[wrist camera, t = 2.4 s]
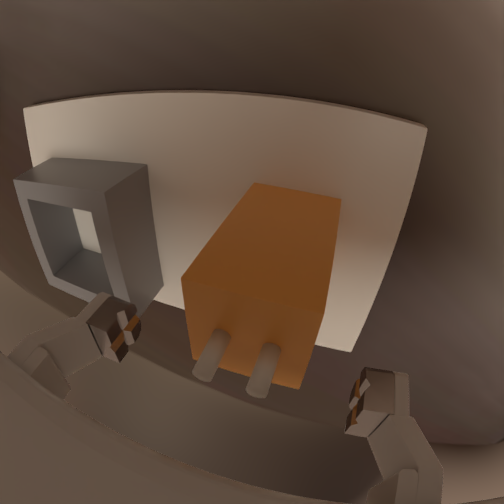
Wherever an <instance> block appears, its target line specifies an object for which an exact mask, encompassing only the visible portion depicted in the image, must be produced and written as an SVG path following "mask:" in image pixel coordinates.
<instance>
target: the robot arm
mask: <svg viewBox="0 0 504 504" xmlns="http://www.w3.org/2000/svg"><path fill="white" fill-rule="evenodd" d="M136 313H137V308H136V305H135V304H132V303H130V302H127V301H125V300H122V299H120V298H117V297H115V296H112V295H110V294H107V293H105V292H101V293H99V294H98V295H97V296H96V297H95V298H94V299H93V300H92V301H91V302H90V303H89V304H88V305H87V306H86V307H85V308H84V309H83V310H82V312H81V313H80V314H79V315H78V316H77V317H76V318H74V317H72V318H69V319H66V320H64V321H61V322H59V323H57V324H54V325H51V326H49V327H46V328H44V329H41V330H39V331H36V332H34V333H31V334H29V335H26V336H25V337H24V338H23V339H22V340H21V342H20V343H19V344H18V345H17V346H16V347H15V348H14V349H13V351H12V352H11V353H10V354H9V355H8V356H7V357H6V356H5V355H4V354H3V353H2V352H1V351H0V504H349V503H339V502H331V501H324V500H317V499H311V498H305V497H299V496H294V495H290V494H284V493H280V492H276V491H272V490H267V489H263V488H259V487H256V486H252V485H248V484H245V483H241V482H237V481H234V480H231V479H228V478H225V477H222V476H218V475H215V474H213V473H210V472H207V471H204V470H201V469H198V468H196V467H193V466H190V465H188V464H185V463H183V462H180V461H178V460H175V459H173V458H171V457H168V456H166V455H164V454H161V453H159V452H157V451H155V450H152V449H150V448H148V447H146V446H144V445H142V444H140V443H138V442H136V441H134V440H132V439H130V438H128V437H126V436H124V435H122V434H120V433H118V432H116V431H114V430H113V429H111V428H109V427H107V426H105V425H104V424H102V423H100V422H98V421H96V420H95V419H93V418H91V417H90V416H88V415H87V414H85V413H83V412H82V411H80V410H78V409H77V408H75V407H74V406H72V405H71V404H69V403H67V402H66V401H64V398H65V397H66V396H67V394H68V393H69V391H70V390H71V387H70V385H69V383H68V382H67V380H66V379H65V378H66V377H67V376H69V375H71V374H73V373H75V372H76V371H78V370H80V369H82V368H83V367H85V366H87V365H89V364H90V363H92V362H94V361H96V360H98V359H99V358H101V357H102V356H104V357H106V358H109V359H111V360H113V361H115V362H118V363H120V362H121V361H122V359H123V358H124V357H125V355H126V354H127V352H128V351H129V350H128V345H130V344H132V343H135V341H136V340H137V338H138V337H139V334H140V331H141V322H140V319H139V318H138V317H137V316H136ZM349 407H350V409H351V412H350V413H349V414H348V416H347V420H346V427H345V434H351V435H356V436H362V437H368V438H367V439H368V442H369V444H370V447H371V449H372V452H373V454H374V457H375V459H376V462H377V464H378V467H379V469H380V471H381V474H382V477H383V479H384V481H383V482H381V483H379V484H378V485H376V486H374V487H372V488H371V489H369V490H368V496H367V501H366V504H441V498H442V484H443V468H442V466H441V464H440V462H439V461H438V459H437V457H436V455H435V454H434V452H433V450H432V448H431V447H430V445H429V443H428V442H427V440H426V438H425V436H424V435H423V433H422V431H421V430H420V428H419V426H418V425H417V423H416V421H415V420H414V418H413V417H409V376H408V374H405V373H399V372H393V371H388V370H382V369H376V368H370V367H364V368H363V370H362V372H361V375H360V379H358V380H356V382H355V384H354V386H353V389H352V391H351V395H350V400H349ZM459 504H504V497H499V498H493V499H488V500H481V501H475V502H467V503H459Z"/></svg>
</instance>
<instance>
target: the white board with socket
mask: <svg viewBox="0 0 504 504" xmlns="http://www.w3.org/2000/svg"><path fill="white" fill-rule="evenodd" d="M23 110H24V118H25V125H26V131H27V138H28V143H29V149H30V154H31V159H32V164H33V168H32V169H30V170H28V171H26V172H25V173H23V174H21V175H20V176H18V177H16V178H15V179H13V181H14V185H15V188H16V192H17V196H18V199H19V203H20V206H21V209H22V213H23V216H24V219H25V222H26V225H27V228H28V231H29V234H30V237H31V240H32V242H33V245H34V248H35V250H36V253H37V256H38V258H39V261H40V263H41V266H42V268H43V271H44V273H45V276H46V278H47V280H48V283H49V284H50V285H52V286H54V287H56V288H58V289H61V290H63V291H65V292H67V293H69V294H71V295H74V296H76V297H78V298H80V299H83V300H85V301H87V302H89V303H90V302H91V301H92V300H93V299H94V298H95V297H96V296H97V295H98V294H99V293H101V292H105V293H107V294H110V295H112V296H115V297H117V298H120V299H122V300H125V301H127V302H130V303H132V304H135V305H136V308H137V313H136V316H137V317H138V318H140V316H141V315H142V314H143V312H144V311H145V310H146V308H147V307H148V306H149V304H150V303H151V302H152V300H156V301H159V302H162V303H165V304H169V305H172V306H175V307H178V308H181V309H184V310H185V307H184V300H183V293H182V285H181V277H182V276H183V274H184V273H185V271H186V270H187V269H188V267H189V266H190V265H191V263H192V262H193V261H194V259H195V258H196V257H197V255H198V254H199V253H200V251H201V250H202V249H203V247H204V246H205V245H206V244H207V242H208V241H209V240H210V238H211V237H212V236H213V234H214V233H215V232H216V230H217V229H218V228H219V227H220V225H221V224H222V223H223V221H224V220H225V219H226V217H227V216H228V215H229V214H230V212H231V211H232V210H233V208H234V207H235V206H236V205H237V203H238V202H239V201H240V200H241V198H242V197H243V196H244V194H245V193H246V192H247V191H248V189H249V188H250V187H251V186H252V184H253V183H260V184H266V185H272V186H277V187H283V188H288V189H293V190H299V191H304V192H309V193H314V194H319V195H324V196H329V197H333V198H338V199H341V208H340V216H339V224H338V231H337V239H336V246H335V253H334V259H333V266H332V272H331V278H330V284H329V290H328V296H327V302H326V307H325V313H324V317H323V320H322V323H321V326H320V329H319V332H318V336H317V339H316V342H315V345H319V346H324V347H328V348H333V349H338V350H342V351H347V352H351V351H352V349H353V347H354V345H355V342H356V340H357V338H358V336H359V334H360V332H361V329H362V327H363V325H364V323H365V320H366V318H367V316H368V314H369V311H370V309H371V307H372V304H373V302H374V299H375V297H376V295H377V292H378V290H379V287H380V285H381V282H382V279H383V277H384V274H385V272H386V269H387V266H388V264H389V261H390V258H391V255H392V253H393V250H394V247H395V244H396V241H397V238H398V235H399V232H400V229H401V226H402V223H403V220H404V217H405V214H406V211H407V207H408V204H409V201H410V197H411V194H412V190H413V187H414V183H415V180H416V176H417V172H418V168H419V164H420V160H421V156H422V152H423V148H424V144H425V139H426V135H427V130H428V128H426V127H425V126H424V125H423V124H421V123H417V122H414V121H410V120H407V119H403V118H399V117H395V116H391V115H387V114H383V113H379V112H375V111H370V110H366V109H361V108H356V107H351V106H346V105H341V104H336V103H330V102H324V101H318V100H311V99H305V98H297V97H289V96H281V95H272V94H261V93H249V92H235V91H213V90H157V91H135V92H121V93H110V94H100V95H91V96H83V97H75V98H69V99H62V100H56V101H50V102H45V103H39V104H34V105H31V106H29V107H26V108H23Z"/></svg>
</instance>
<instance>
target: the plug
mask: <svg viewBox="0 0 504 504" xmlns="http://www.w3.org/2000/svg"><path fill="white" fill-rule="evenodd" d="M340 208H341V199H338V198H333V197H329V196H324V195H319V194H314V193H309V192H304V191H299V190H293V189H288V188H283V187H277V186H272V185H266V184H260V183H253V184H252V186H251V187H250V188H249V189H248V191H247V192H246V193H245V194H244V196H243V197H242V198H241V200H240V201H239V202H238V203H237V205H236V206H235V207H234V208H233V210H232V211H231V212H230V214H229V215H228V216H227V217H226V219H225V220H224V221H223V223H222V224H221V225H220V227H219V228H218V229H217V230H216V232H215V233H214V234H213V236H212V237H211V238H210V240H209V241H208V242H207V244H206V245H205V246H204V247H203V249H202V250H201V251H200V253H199V254H198V255H197V257H196V258H195V259H194V261H193V262H192V263H191V265H190V266H189V267H188V269H187V270H186V271H185V273H184V274H183V276H182V277H181V285H182V293H183V300H184V307H185V313H186V320H187V326H188V333H189V339H190V345H191V351H192V356H193V359H195V360H197V363H196V365H195V367H194V369H193V371H192V373H193V375H194V376H195V377H196V378H198V379H200V380H202V381H205V382H210V381H211V380H212V378H213V376H214V374H215V372H216V370H217V367H219V368H222V369H225V370H229V371H232V372H235V373H239V374H242V375H246V376H249V377H250V379H249V382H248V385H247V387H246V392H247V393H248V394H249V395H251V396H253V397H257V398H265V397H266V396H267V393H268V390H269V387H270V384H271V383H275V384H279V385H283V386H287V387H291V388H295V389H299V388H300V385H301V382H302V380H303V377H304V374H305V371H306V368H307V365H308V363H309V360H310V357H311V354H312V351H313V348H314V345H315V342H316V339H317V336H318V332H319V329H320V326H321V323H322V320H323V317H324V313H325V307H326V302H327V296H328V290H329V284H330V278H331V272H332V266H333V259H334V253H335V246H336V239H337V231H338V224H339V216H340Z"/></svg>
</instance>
